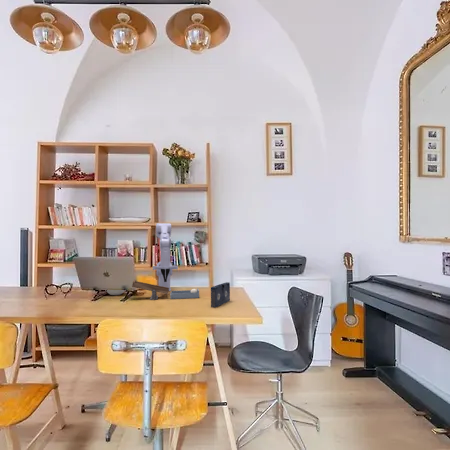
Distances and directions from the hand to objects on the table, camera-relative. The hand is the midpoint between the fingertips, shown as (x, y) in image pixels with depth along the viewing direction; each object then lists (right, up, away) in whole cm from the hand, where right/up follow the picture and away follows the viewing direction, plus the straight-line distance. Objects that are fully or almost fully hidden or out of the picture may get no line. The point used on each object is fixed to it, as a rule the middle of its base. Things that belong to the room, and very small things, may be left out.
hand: (165, 281), depth 204 cm
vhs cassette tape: (+33, -7, -26) cm, 43 cm away
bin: (+12, -7, -8) cm, 16 cm away
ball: (+18, -5, -7) cm, 20 cm away
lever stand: (-5, -8, -10) cm, 14 cm away
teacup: (-32, -8, +2) cm, 33 cm away
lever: (-7, -3, -7) cm, 10 cm away
